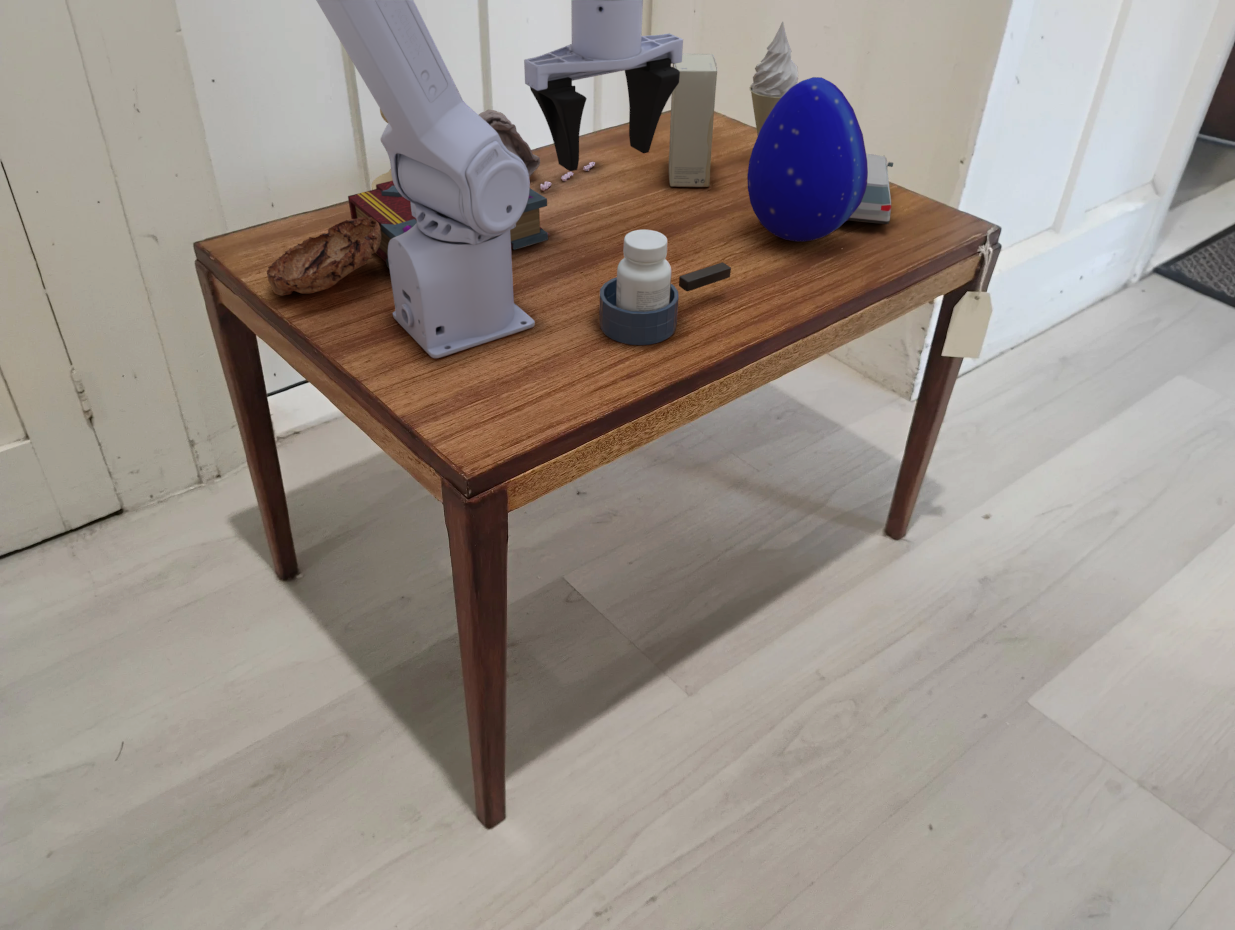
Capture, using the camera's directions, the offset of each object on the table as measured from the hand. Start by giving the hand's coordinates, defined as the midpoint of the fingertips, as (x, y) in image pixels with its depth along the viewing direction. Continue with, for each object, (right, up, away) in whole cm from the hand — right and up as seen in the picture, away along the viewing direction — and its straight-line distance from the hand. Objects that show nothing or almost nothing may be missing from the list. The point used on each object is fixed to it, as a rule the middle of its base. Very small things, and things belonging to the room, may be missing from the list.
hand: (604, 157), depth 85 cm
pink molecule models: (-6, +3, +18) cm, 19 cm away
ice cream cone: (+18, +7, +24) cm, 31 cm away
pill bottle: (+3, -15, -4) cm, 16 cm away
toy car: (+26, 0, +16) cm, 31 cm away
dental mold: (-11, +6, +15) cm, 20 cm away
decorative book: (-14, -6, +7) cm, 17 cm away
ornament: (+19, -5, +10) cm, 21 cm away
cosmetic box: (+9, +4, +21) cm, 23 cm away
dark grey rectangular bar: (+9, -11, -2) cm, 14 cm away
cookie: (-25, -8, -2) cm, 26 cm away
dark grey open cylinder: (+3, -15, -4) cm, 16 cm away
